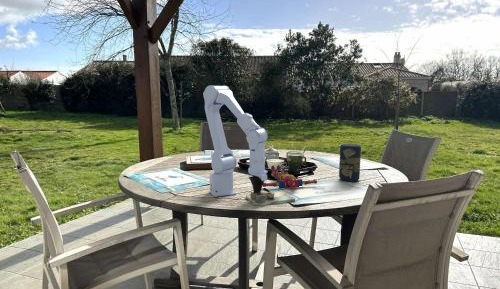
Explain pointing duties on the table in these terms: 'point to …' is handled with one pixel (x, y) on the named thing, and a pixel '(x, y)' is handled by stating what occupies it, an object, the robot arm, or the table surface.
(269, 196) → the swing latch
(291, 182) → the toy
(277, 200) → the door board
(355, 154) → the canister
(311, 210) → the table surface
